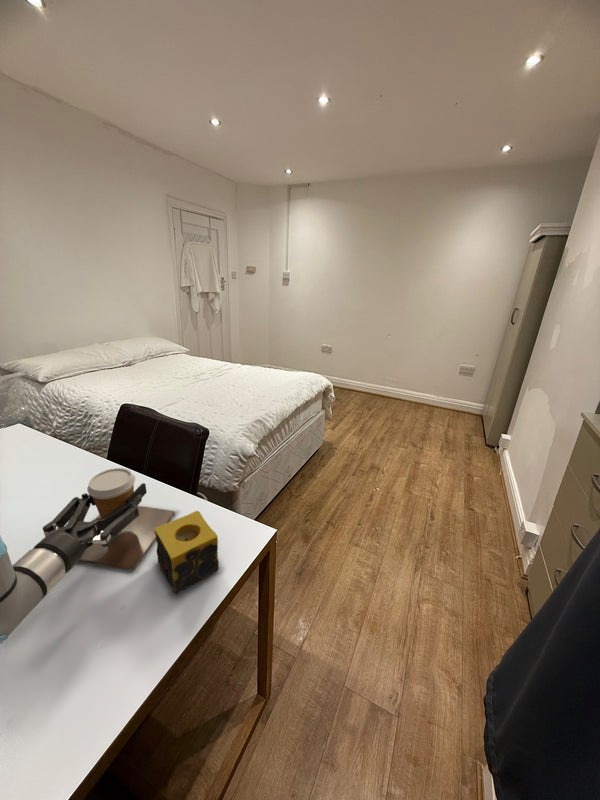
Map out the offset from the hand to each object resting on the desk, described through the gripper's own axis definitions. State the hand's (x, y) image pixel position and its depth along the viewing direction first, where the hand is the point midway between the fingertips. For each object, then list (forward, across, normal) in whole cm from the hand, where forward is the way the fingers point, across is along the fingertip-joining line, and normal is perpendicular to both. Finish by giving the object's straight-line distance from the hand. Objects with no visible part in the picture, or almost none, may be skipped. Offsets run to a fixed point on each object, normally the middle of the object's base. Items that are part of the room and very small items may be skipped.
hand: (127, 485), depth 79 cm
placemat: (-5, 0, -11) cm, 12 cm away
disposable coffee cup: (-5, 0, -7) cm, 8 cm away
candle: (-11, +20, -11) cm, 25 cm away
